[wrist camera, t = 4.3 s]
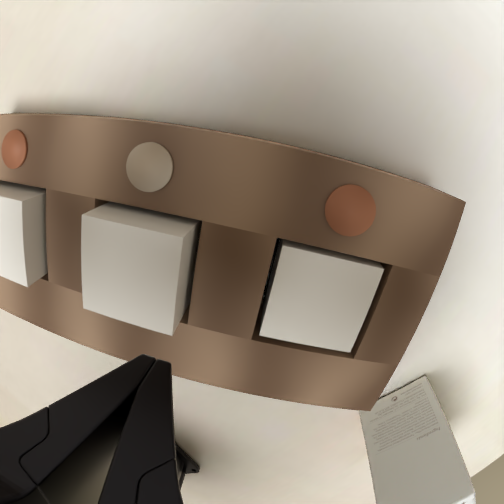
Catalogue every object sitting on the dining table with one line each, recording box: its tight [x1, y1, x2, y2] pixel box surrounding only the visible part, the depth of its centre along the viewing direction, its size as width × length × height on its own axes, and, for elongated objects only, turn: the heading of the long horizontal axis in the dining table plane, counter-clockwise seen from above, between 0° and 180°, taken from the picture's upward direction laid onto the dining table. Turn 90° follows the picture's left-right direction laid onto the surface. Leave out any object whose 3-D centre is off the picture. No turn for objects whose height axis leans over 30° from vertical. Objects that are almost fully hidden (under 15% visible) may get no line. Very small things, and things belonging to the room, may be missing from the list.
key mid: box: [81, 201, 202, 336], centre depth 14 cm, size 4×4×3 cm
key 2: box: [0, 180, 48, 287], centre depth 14 cm, size 4×4×3 cm
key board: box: [0, 113, 466, 411], centre depth 16 cm, size 26×12×4 cm, turn 79°
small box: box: [359, 376, 476, 504], centre depth 16 cm, size 8×6×10 cm
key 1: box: [259, 238, 384, 352], centre depth 15 cm, size 4×4×3 cm
